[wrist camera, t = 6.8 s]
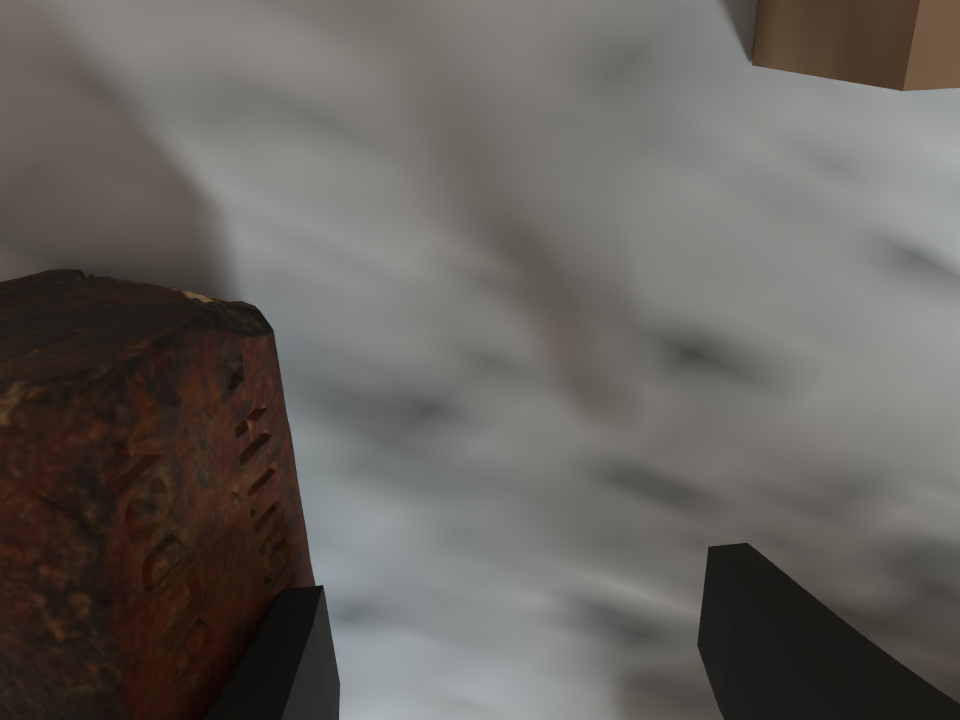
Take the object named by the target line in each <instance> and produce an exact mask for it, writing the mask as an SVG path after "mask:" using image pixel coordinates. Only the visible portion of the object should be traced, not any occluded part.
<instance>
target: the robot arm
mask: <svg viewBox="0 0 960 720" xmlns="http://www.w3.org/2000/svg"><path fill="white" fill-rule="evenodd" d="M697 646H698V649H699V652H700V655H701V658H702V661H703V664H704V667H705V670H706V673H707V675H708V678H709V681H710V684H711V687H712V690H713V692H714V695H715V698H716V701H717V703H718V706H719V709H720V711H721V713H722V715H723V718H724V720H960V704H959V703H957V702H956V701H954V700H953V699H951V698H950V697H948V696H947V695H945V694H944V693H942V692H941V691H939V690H938V689H936V688H935V687H934V686H932V685H931V684H929V683H928V682H926V681H925V680H924V679H922V678H921V677H919V676H918V675H916V674H915V673H914V672H912V671H911V670H909V669H908V668H906V667H905V666H904V665H902V664H901V663H899V662H898V661H896V660H895V659H894V658H892V657H891V656H890V655H888V654H887V653H886V652H884V651H883V650H882V649H880V648H879V647H878V646H876V645H875V644H873V643H872V642H871V641H869V640H868V639H867V638H866V637H864V636H863V635H862V634H860V633H859V632H858V631H856V630H855V629H854V628H852V627H851V626H850V625H849V624H847V623H846V622H845V621H843V620H842V619H841V618H840V617H838V616H837V615H836V614H835V613H833V612H832V611H831V610H830V609H828V608H827V607H826V606H825V605H823V604H822V603H821V602H820V601H818V600H817V599H816V598H815V597H813V596H812V595H811V594H810V593H808V592H807V591H806V590H805V589H803V588H802V587H801V586H800V585H799V584H797V583H796V582H795V581H794V580H792V579H791V578H790V577H789V576H788V575H786V574H785V573H784V572H783V571H781V570H780V569H779V568H778V567H777V566H775V565H774V564H773V563H772V562H770V561H769V560H768V559H767V558H766V557H764V556H763V555H762V554H761V553H759V552H758V551H757V550H756V549H754V548H753V547H752V546H751V545H749V544H748V543H741V544H731V545H721V546H711V547H709V548H708V557H707V566H706V574H705V583H704V592H703V600H702V609H701V618H700V627H699V635H698V644H697ZM339 699H340V682H339V676H338V670H337V664H336V658H335V652H334V646H333V640H332V634H331V628H330V623H329V617H328V611H327V605H326V599H325V593H324V587H323V585H320V586H310V587H300V588H290V589H282V590H281V591H280V592H279V593H278V594H277V595H276V596H275V597H274V599H273V601H272V603H271V605H270V607H269V609H268V611H267V613H266V615H265V617H264V619H263V621H262V623H261V624H260V626H259V628H258V630H257V632H256V634H255V635H254V637H253V639H252V641H251V643H250V644H249V646H248V648H247V649H246V651H245V653H244V655H243V656H242V658H241V660H240V662H239V663H238V665H237V667H236V668H235V670H234V672H233V673H232V675H231V676H230V678H229V680H228V681H227V683H226V684H225V686H224V688H223V689H222V691H221V692H220V694H219V696H218V697H217V699H216V700H215V702H214V704H213V705H212V707H211V708H210V710H209V712H208V713H207V715H206V716H205V718H204V719H203V720H339Z"/></svg>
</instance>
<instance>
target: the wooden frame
mask: <svg viewBox="0 0 960 720" xmlns="http://www.w3.org/2000/svg"><path fill="white" fill-rule="evenodd" d="M752 65H754V66H760V67H766V68H772V69H777V70H783V71H789V72H795V73H801V74H807V75H813V76H818V77H824V78H830V79H836V80H842V81H848V82H854V83H859V84H865V85H871V86H877V87H883V88H889V89H895V90H900V91H910V90H928V89H946V88H960V0H759V6H758V15H757V24H756V33H755V43H754V52H753V61H752Z"/></svg>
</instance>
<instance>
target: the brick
mask: <svg viewBox="0 0 960 720" xmlns="http://www.w3.org/2000/svg"><path fill="white" fill-rule="evenodd" d="M310 586H315V581H314V576H313V571H312V566H311V561H310V554H309V547H308V540H307V533H306V527H305V521H304V515H303V510H302V504H301V498H300V492H299V486H298V479H297V472H296V465H295V458H294V451H293V444H292V437H291V432H290V427H289V422H288V418H287V413H286V407H285V400H284V393H283V387H282V380H281V374H280V368H279V362H278V355H277V349H276V343H275V337H274V331H273V329H272V327H271V326H270V325H269V323H268V322H267V320H266V319H265V317H264V316H263V315H262V313H261V312H260V311H259V309H258V308H257V307H256V306H254V305H251V304H248V303H245V302H242V301H232V302H226V301H223V300H220V299H217V298H212V299H209V298H207V297H205V296H203V295H200V294H196V293H192V292H191V291H181V290H178V289H176V288H175V287H174V286H172V287H170V288H164V287H160V286H156V285H150V284H144V283H137V282H130V281H122V280H115V279H112V278H110V277H108V276H106V277H97V278H96V277H94V276H93V275H92V274H91V275H90V276H88V277H85V274H84V273H83V272H82V271H81V270H67V269H58V270H48V271H44V272H41V273H37V274H34V275H30V276H26V277H22V278H18V279H13V280H9V281H4V282H0V720H203V719H204V718H205V716H206V715H207V713H208V712H209V710H210V708H211V707H212V705H213V704H214V702H215V700H216V699H217V697H218V696H219V694H220V692H221V691H222V689H223V688H224V686H225V684H226V683H227V681H228V680H229V678H230V676H231V675H232V673H233V672H234V670H235V668H236V667H237V665H238V663H239V662H240V660H241V658H242V656H243V655H244V653H245V651H246V649H247V648H248V646H249V644H250V643H251V641H252V639H253V637H254V635H255V634H256V632H257V630H258V628H259V626H260V624H261V623H262V621H263V619H264V617H265V615H266V613H267V611H268V609H269V607H270V605H271V603H272V601H273V599H274V597H275V596H276V595H277V594H278V593H279V592H280V591H281V590H282V589H290V588H300V587H310Z"/></svg>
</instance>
